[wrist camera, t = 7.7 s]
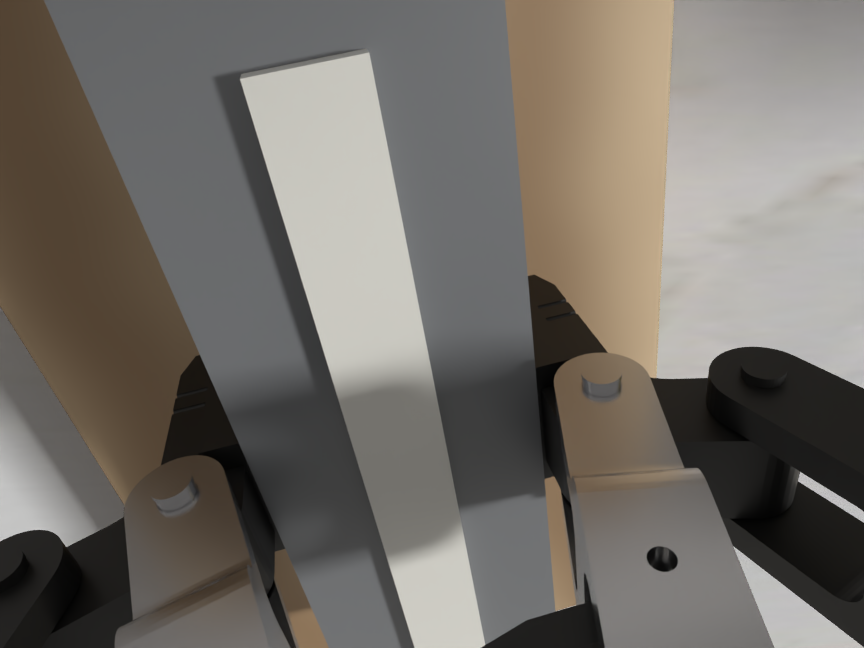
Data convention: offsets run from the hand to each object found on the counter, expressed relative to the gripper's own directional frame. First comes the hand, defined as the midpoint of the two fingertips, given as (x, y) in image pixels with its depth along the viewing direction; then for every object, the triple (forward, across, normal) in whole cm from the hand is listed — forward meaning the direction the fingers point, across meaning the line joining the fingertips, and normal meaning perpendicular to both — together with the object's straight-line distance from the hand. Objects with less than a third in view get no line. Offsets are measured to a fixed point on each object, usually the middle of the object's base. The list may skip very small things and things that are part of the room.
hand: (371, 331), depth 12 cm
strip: (+3, 0, 0) cm, 3 cm away
